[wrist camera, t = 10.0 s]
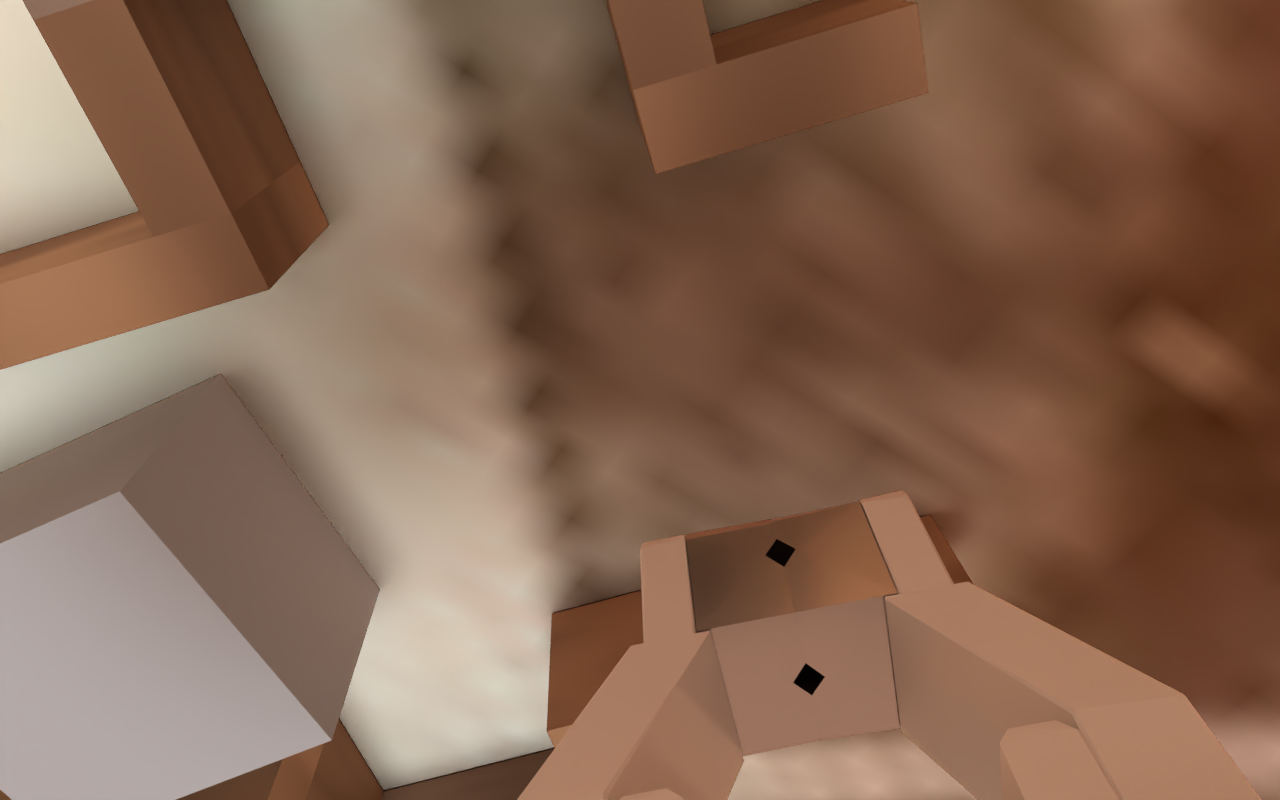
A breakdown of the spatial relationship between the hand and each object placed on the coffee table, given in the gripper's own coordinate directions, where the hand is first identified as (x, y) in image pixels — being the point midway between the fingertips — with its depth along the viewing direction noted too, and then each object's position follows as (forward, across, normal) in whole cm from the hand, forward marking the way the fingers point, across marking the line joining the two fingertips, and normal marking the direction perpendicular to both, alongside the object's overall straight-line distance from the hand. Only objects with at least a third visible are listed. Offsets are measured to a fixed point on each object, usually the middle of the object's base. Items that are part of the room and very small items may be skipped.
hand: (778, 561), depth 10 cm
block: (+8, +12, +3) cm, 15 cm away
